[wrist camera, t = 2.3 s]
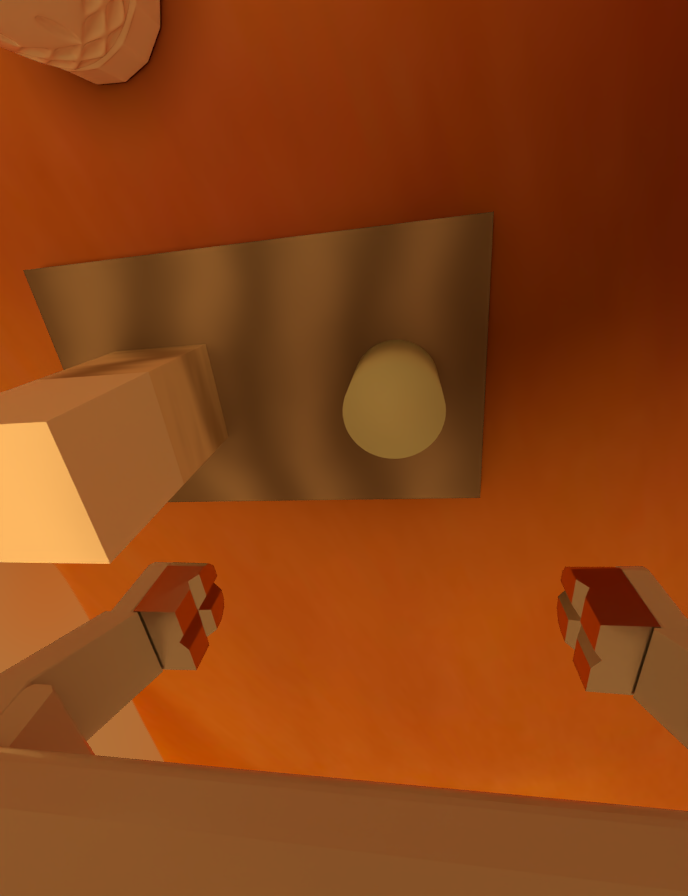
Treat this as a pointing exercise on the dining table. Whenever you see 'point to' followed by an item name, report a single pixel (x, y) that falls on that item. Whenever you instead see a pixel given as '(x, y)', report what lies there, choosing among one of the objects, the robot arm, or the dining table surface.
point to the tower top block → (81, 467)
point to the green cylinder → (394, 401)
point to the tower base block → (172, 396)
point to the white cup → (83, 35)
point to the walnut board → (300, 347)
